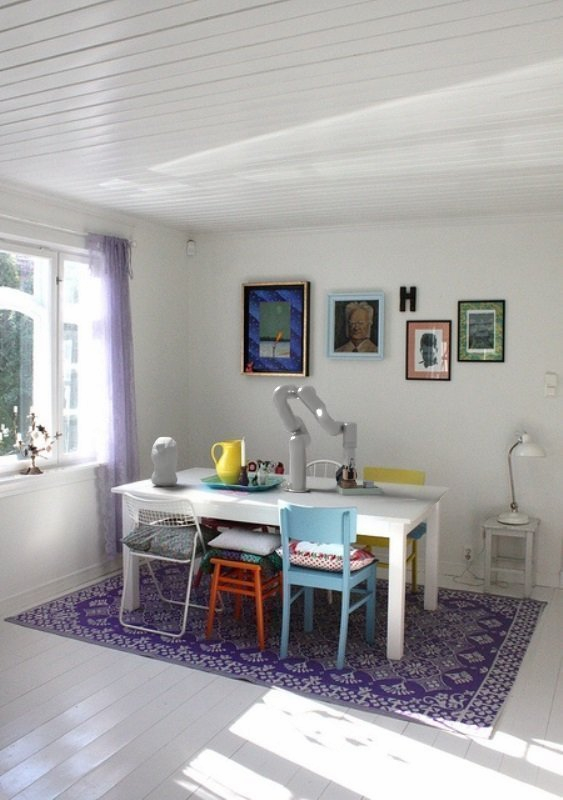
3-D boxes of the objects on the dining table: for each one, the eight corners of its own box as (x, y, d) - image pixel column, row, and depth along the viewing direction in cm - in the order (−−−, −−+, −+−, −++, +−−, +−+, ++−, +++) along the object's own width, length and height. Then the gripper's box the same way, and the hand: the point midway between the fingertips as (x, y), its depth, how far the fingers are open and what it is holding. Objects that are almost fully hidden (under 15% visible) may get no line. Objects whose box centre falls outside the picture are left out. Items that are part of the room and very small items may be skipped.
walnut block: (344, 494, 401) (344, 483, 400) (340, 491, 408) (341, 480, 407) (356, 493, 402) (357, 482, 402) (353, 491, 409) (353, 480, 408)
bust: (181, 483, 433) (181, 435, 432) (172, 491, 407) (172, 440, 405) (156, 482, 434) (156, 434, 432) (145, 490, 408) (145, 439, 406)
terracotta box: (345, 479, 401) (345, 470, 401) (342, 478, 406) (342, 469, 406) (355, 479, 402) (356, 470, 402) (353, 478, 407) (353, 468, 407)
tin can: (364, 493, 403) (364, 482, 403) (361, 491, 409) (361, 480, 409) (375, 493, 404) (375, 482, 404) (371, 491, 410) (372, 480, 410)
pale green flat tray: (341, 496, 398) (341, 489, 398) (336, 492, 410) (336, 485, 409) (381, 495, 402) (381, 488, 402) (374, 491, 414) (374, 484, 413)
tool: (350, 486, 412) (345, 461, 418) (337, 498, 428) (331, 473, 434) (360, 486, 414) (354, 461, 420) (346, 497, 430) (341, 473, 436)
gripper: (338, 443, 411) (338, 475, 412) (347, 447, 394) (346, 481, 395) (352, 443, 412) (351, 475, 413) (360, 446, 395) (360, 480, 397)
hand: (349, 477), depth 404 cm, fingers closed on terracotta box, 4 cm apart
